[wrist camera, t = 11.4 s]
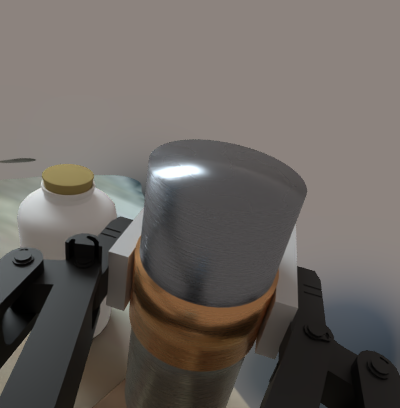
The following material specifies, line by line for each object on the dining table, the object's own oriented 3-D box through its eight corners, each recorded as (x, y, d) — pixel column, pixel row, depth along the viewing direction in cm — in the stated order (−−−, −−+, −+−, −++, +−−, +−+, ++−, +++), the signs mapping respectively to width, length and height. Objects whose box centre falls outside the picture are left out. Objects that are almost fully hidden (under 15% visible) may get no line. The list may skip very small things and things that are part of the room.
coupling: (181, 481, 13) (259, 241, 8) (97, 389, 16) (106, 155, 10) (248, 387, 17) (335, 181, 11) (172, 326, 20) (211, 130, 14)
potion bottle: (70, 367, 33) (66, 212, 24) (11, 325, 35) (-12, 172, 26) (125, 313, 39) (138, 175, 30) (72, 281, 42) (69, 146, 33)
